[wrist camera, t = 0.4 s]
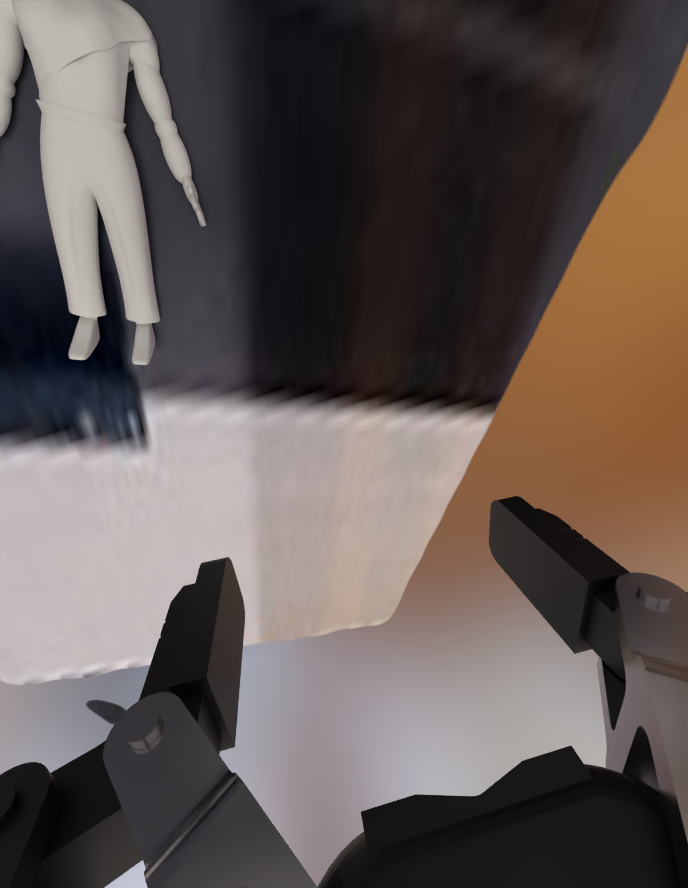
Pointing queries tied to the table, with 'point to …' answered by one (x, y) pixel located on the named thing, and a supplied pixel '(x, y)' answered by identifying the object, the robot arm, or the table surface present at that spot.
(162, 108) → the figurine
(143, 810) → the robot arm
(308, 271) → the table surface
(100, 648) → the table surface
